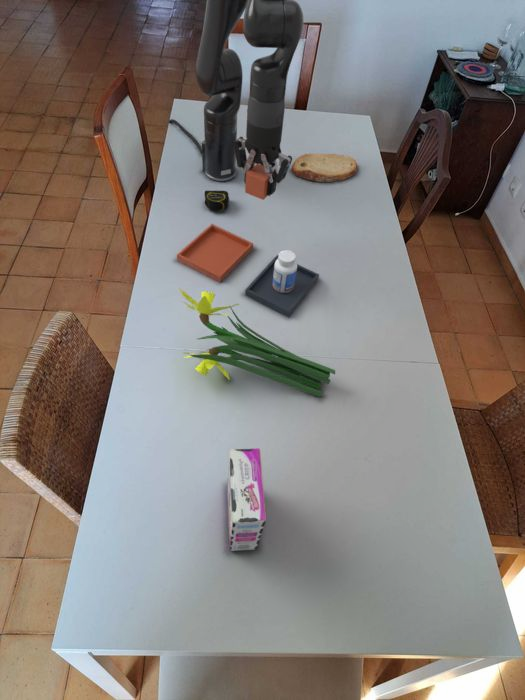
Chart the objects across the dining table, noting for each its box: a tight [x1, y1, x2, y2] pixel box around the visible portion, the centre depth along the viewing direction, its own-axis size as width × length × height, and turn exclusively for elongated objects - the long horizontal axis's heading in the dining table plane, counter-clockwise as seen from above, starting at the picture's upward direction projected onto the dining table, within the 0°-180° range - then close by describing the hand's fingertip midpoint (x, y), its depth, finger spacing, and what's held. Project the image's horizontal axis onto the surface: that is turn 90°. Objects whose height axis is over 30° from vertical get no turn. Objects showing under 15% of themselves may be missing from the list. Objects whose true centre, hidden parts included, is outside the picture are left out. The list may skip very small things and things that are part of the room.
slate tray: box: [244, 254, 320, 318], centre depth 112 cm, size 12×15×2 cm
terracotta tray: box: [176, 223, 254, 283], centre depth 117 cm, size 13×15×2 cm
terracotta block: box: [244, 163, 269, 201], centre depth 105 cm, size 5×5×5 cm
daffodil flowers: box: [178, 287, 336, 398], centre depth 92 cm, size 17×15×35 cm
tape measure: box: [204, 190, 230, 212], centre depth 128 cm, size 7×7×4 cm
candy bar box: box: [226, 447, 267, 552], centre depth 72 cm, size 11×5×16 cm, turn 5°
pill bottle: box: [273, 249, 298, 293], centre depth 108 cm, size 6×5×10 cm
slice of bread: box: [290, 153, 358, 183], centre depth 144 cm, size 18×18×4 cm
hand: (259, 189), depth 107 cm, fingers closed on terracotta block, 5 cm apart
